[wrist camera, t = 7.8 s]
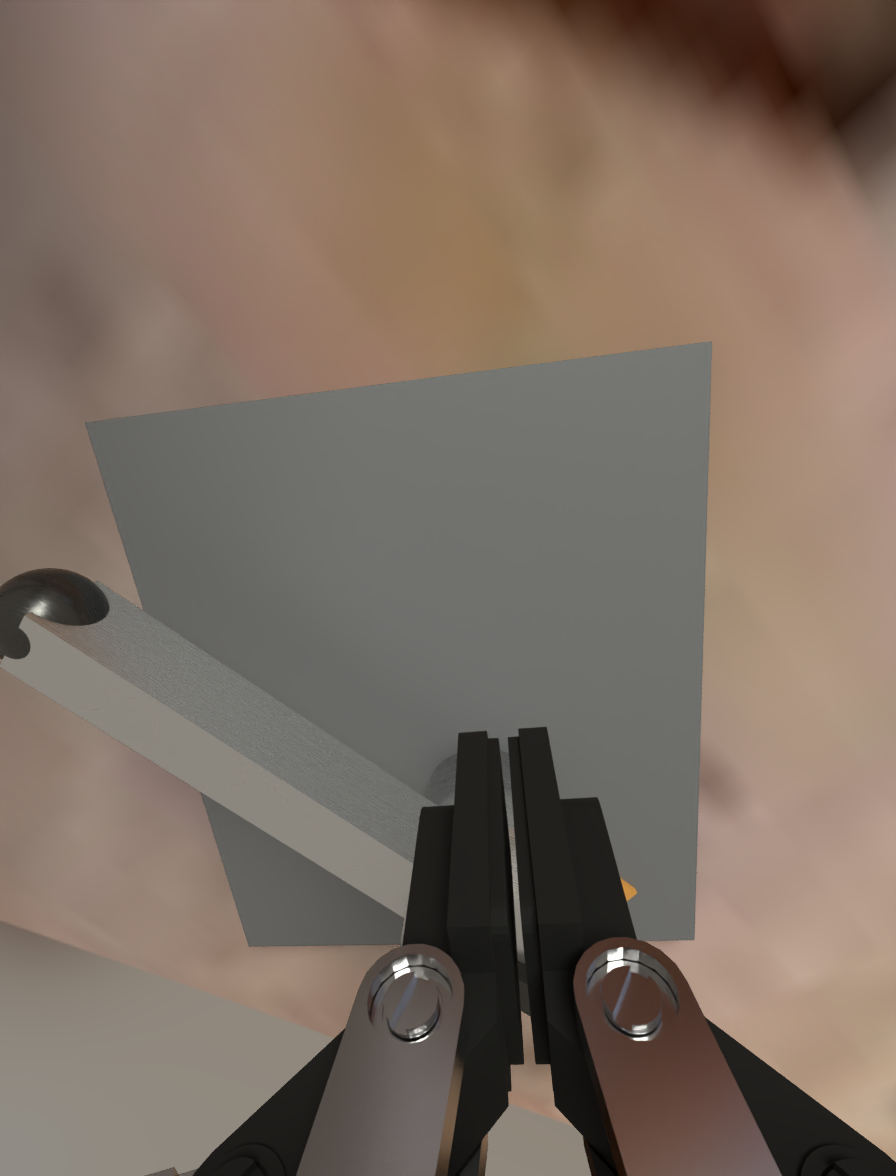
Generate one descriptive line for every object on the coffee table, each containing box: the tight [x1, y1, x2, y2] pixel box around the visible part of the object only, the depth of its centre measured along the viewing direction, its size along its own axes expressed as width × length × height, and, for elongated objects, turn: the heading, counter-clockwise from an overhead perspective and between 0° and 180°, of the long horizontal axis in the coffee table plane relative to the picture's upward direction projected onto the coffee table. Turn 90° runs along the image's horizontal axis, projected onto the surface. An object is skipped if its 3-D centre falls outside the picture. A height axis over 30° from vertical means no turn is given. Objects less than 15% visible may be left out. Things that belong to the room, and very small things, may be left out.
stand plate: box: [85, 341, 712, 947], centre depth 24 cm, size 26×22×2 cm
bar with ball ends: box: [0, 568, 531, 1016], centre depth 20 cm, size 25×5×8 cm, turn 53°
